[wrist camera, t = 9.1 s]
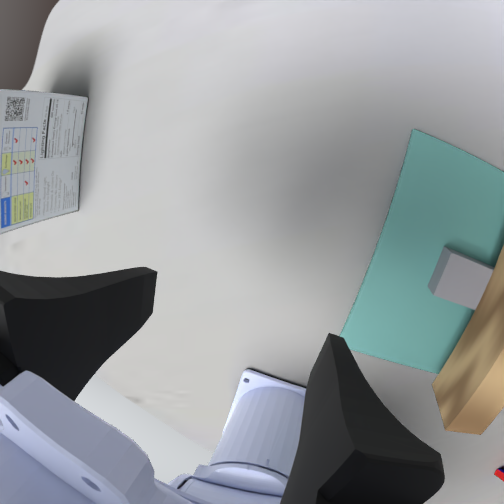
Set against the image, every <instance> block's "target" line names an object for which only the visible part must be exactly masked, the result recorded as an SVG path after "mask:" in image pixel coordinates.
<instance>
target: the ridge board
mask: <svg viewBox="0 0 504 504" xmlns="http://www.w3.org/2000/svg"><path fill="white" fill-rule="evenodd" d="M503 245H504V172H503V171H501V170H499V169H497V168H496V167H494V166H492V165H490V164H488V163H486V162H485V161H483V160H481V159H479V158H477V157H475V156H473V155H471V154H469V153H467V152H465V151H463V150H461V149H459V148H457V147H454V146H452V145H450V144H448V143H446V142H444V141H441V140H439V139H437V138H434V137H432V136H430V135H427V134H425V133H423V132H420V131H418V130H415V129H412V133H411V137H410V140H409V144H408V148H407V152H406V156H405V159H404V163H403V166H402V170H401V173H400V177H399V180H398V183H397V187H396V190H395V193H394V196H393V199H392V202H391V206H390V209H389V212H388V215H387V218H386V221H385V224H384V226H383V229H382V232H381V235H380V238H379V241H378V243H377V246H376V249H375V252H374V254H373V257H372V259H371V262H370V265H369V267H368V270H367V272H366V275H365V278H364V280H363V283H362V285H361V287H360V290H359V292H358V295H357V297H356V299H355V302H354V304H353V307H352V309H351V311H350V314H349V316H348V318H347V320H346V323H345V325H344V327H343V329H342V331H341V334H340V337H343V338H344V339H345V341H346V343H347V345H348V347H349V349H350V350H354V351H357V352H360V353H364V354H367V355H371V356H374V357H377V358H381V359H384V360H388V361H391V362H395V363H399V364H402V365H406V366H410V367H413V368H417V369H421V370H425V371H429V372H433V373H436V374H439V373H440V371H441V370H442V368H443V367H444V365H445V363H446V362H447V360H448V359H449V357H450V355H451V354H452V352H453V350H454V349H455V347H456V345H457V343H458V342H459V340H460V338H461V336H462V334H463V333H464V331H465V329H466V327H467V325H468V323H469V321H470V320H471V318H472V316H473V314H474V312H475V310H476V308H477V306H478V304H479V302H480V299H481V297H482V295H483V293H484V291H485V289H486V286H487V284H488V282H489V280H490V277H491V275H492V273H493V270H494V268H495V265H496V263H497V260H498V258H499V255H500V253H501V250H502V247H503Z"/></svg>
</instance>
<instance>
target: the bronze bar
mask: <svg viewBox="0 0 504 504" xmlns="http://www.w3.org/2000/svg"><path fill="white" fill-rule="evenodd" d="M432 386H433V390H434V393H435V396H436V399H437V403H438V406H439V410H440V413H441V417H442V420H443V424H444V428H445V430H447V431H454V432H462V433H470V434H479V435H481V434H482V433H483V432H484V431H485V429H486V428H487V427H488V426H489V425H490V423H491V422H492V421H493V420H494V419H495V417H496V416H497V415H498V414H499V412H500V411H501V410H502V409H503V407H504V245H503V247H502V250H501V253H500V255H499V258H498V260H497V263H496V265H495V268H494V270H493V273H492V275H491V277H490V280H489V282H488V284H487V286H486V289H485V291H484V293H483V295H482V297H481V299H480V302H479V304H478V306H477V308H476V310H475V312H474V314H473V316H472V318H471V320H470V321H469V323H468V325H467V327H466V329H465V331H464V333H463V334H462V336H461V338H460V340H459V342H458V343H457V345H456V347H455V349H454V350H453V352H452V354H451V355H450V357H449V359H448V360H447V362H446V363H445V365H444V367H443V368H442V370H441V371H440V373H439V374H438V376H437V378H436V379H435V381H434V382H433V384H432Z"/></svg>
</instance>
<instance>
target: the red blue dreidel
mask: <svg viewBox="0 0 504 504" xmlns="http://www.w3.org/2000/svg"><path fill="white" fill-rule="evenodd" d="M494 475H496V476H497V477H499V478H500V479H501V480H503V481H504V469H497V470H496V472H495V473H494Z"/></svg>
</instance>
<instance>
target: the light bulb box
mask: <svg viewBox="0 0 504 504" xmlns="http://www.w3.org/2000/svg"><path fill="white" fill-rule="evenodd" d="M87 102H88V98H87V97H82V96H76V95H68V94H58V93H48V92H38V91H24V90H5V89H0V234H2V233H5V232H9V231H11V230H15V229H18V228H21V227H24V226H27V225H31V224H34V223H37V222H40V221H44V220H47V219H50V218H54V217H58V216H61V215H65V214H69V213H73V212H76V211H78V195H79V175H80V161H81V150H82V140H83V131H84V123H85V115H86V108H87Z"/></svg>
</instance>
